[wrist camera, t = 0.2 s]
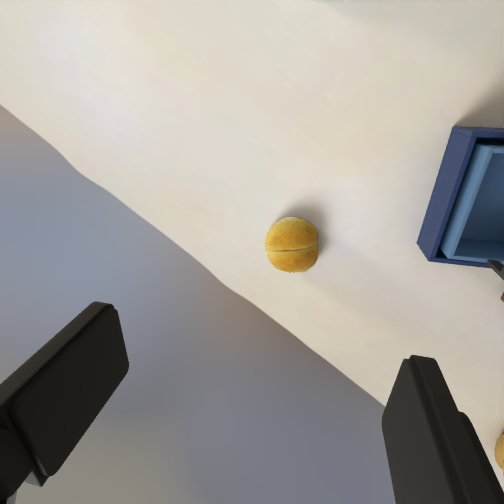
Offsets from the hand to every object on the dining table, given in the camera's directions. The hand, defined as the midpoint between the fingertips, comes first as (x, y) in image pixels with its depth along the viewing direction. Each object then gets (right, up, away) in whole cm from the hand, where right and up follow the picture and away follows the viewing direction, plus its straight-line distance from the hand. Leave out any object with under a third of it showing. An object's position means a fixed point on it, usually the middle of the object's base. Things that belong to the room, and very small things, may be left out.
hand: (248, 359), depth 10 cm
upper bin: (+30, +11, +29) cm, 43 cm away
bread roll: (+7, +5, +38) cm, 39 cm away
